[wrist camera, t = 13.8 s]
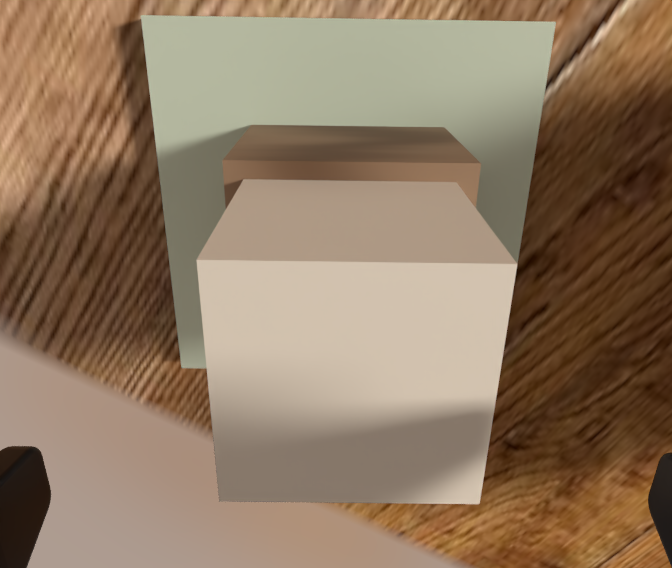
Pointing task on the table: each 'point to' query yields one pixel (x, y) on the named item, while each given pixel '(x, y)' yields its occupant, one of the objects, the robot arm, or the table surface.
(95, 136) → the table surface
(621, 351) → the table surface
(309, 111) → the baseplate
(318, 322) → the cream block
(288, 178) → the walnut block
